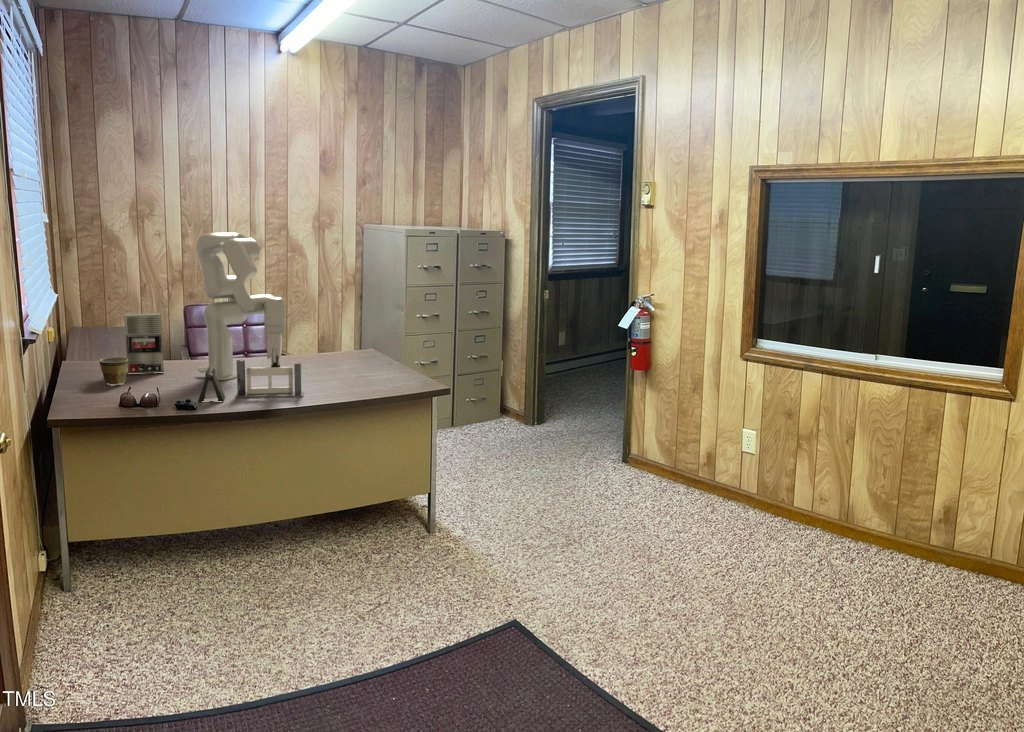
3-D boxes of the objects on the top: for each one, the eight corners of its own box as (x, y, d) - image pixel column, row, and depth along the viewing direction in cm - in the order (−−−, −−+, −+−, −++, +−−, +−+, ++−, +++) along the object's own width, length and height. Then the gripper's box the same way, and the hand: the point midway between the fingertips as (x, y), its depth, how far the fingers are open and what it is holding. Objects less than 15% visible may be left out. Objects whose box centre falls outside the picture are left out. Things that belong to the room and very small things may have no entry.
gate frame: (235, 398, 292) (234, 362, 289) (237, 394, 298) (236, 358, 295) (303, 397, 298) (302, 362, 295) (303, 393, 303) (303, 359, 300)
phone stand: (225, 398, 292) (224, 367, 289) (223, 402, 286) (222, 371, 284) (199, 398, 290) (198, 367, 287) (197, 402, 284) (196, 371, 281)
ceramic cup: (135, 384, 305) (133, 359, 303) (111, 388, 297) (110, 363, 295) (114, 379, 311) (112, 355, 309) (90, 383, 303) (88, 359, 301)
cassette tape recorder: (127, 375, 317) (123, 316, 312) (128, 372, 323) (124, 313, 317) (164, 374, 323) (161, 315, 318) (164, 371, 328) (161, 313, 323)
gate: (247, 393, 295) (246, 368, 293) (247, 392, 297) (246, 367, 295) (292, 392, 301) (292, 367, 298) (292, 391, 302) (292, 366, 300)
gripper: (266, 325, 303) (267, 370, 307) (262, 332, 289) (264, 379, 293) (285, 325, 305) (286, 370, 309) (283, 332, 291) (284, 379, 295)
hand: (275, 374), depth 301 cm, fingers closed
